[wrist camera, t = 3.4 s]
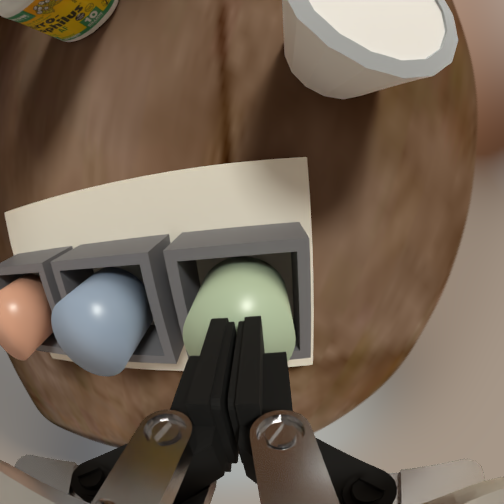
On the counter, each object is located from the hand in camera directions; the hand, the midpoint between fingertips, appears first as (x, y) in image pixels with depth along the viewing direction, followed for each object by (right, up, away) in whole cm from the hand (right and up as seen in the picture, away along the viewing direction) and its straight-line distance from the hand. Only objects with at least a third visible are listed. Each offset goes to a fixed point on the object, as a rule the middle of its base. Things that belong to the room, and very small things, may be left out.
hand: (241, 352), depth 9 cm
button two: (-6, +1, +4) cm, 8 cm away
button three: (0, +1, +3) cm, 4 cm away
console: (-6, +2, +7) cm, 10 cm away
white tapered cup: (+5, +14, +3) cm, 15 cm away
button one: (-13, 0, +4) cm, 14 cm away
